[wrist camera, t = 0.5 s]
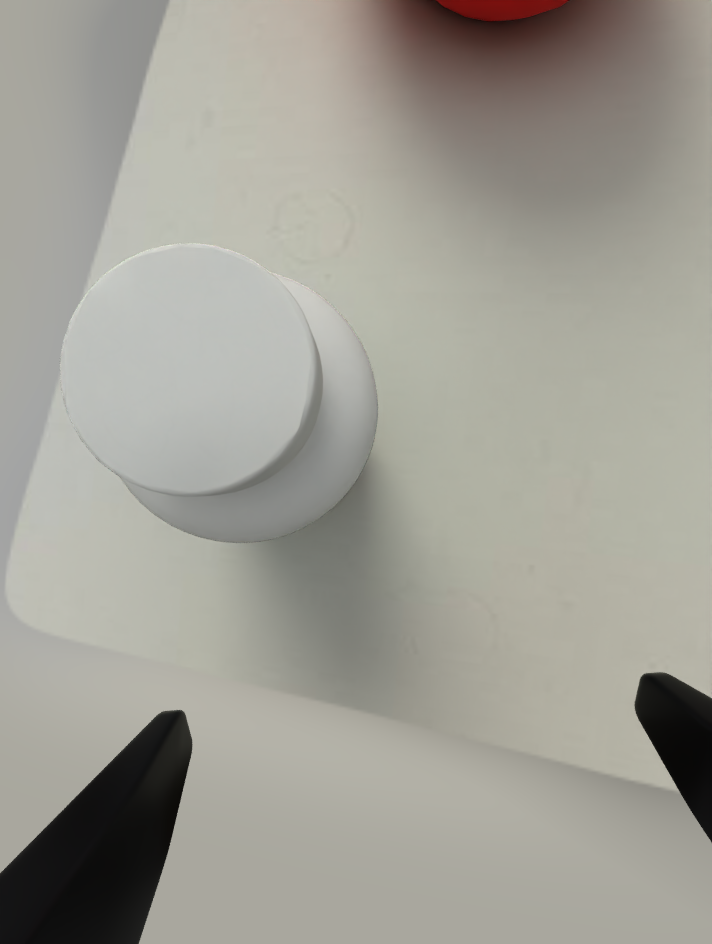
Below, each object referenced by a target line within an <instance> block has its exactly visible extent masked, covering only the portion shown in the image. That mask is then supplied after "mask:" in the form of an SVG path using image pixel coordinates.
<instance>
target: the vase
mask: <svg viewBox="0 0 712 944" xmlns="http://www.w3.org/2000/svg"><path fill="white" fill-rule="evenodd" d="M436 1H437V2H438V3H440V4H441V5H442V6H443V7H445V8H447V9H449V10H452V11H454V12H456V13H458V14H460V15H462V16H464V17H468V18H473V19H479V20H484V21H505V20H516V19H521V18H526V17H530V16H534V15H537V14H540V13H543V12H546V11H549V10H552V9H555V8H558V7H560V6H562V5H563V4H565V3H566V2H568V1H569V0H436Z"/></svg>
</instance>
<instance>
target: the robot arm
mask: <svg viewBox="0 0 712 944" xmlns="http://www.w3.org/2000/svg"><path fill="white" fill-rule="evenodd" d="M635 711H636V714H637V717H638V719H639V721H640V723H641V724H642V726H643V728H644V730H645V731H646V733H647V735H648V737H649V738H650V740H651V742H652V744H653V746H654V747H655V749H656V751H657V753H658V754H659V756H660V758H661V760H662V761H663V763H664V765H665V767H666V768H667V770H668V772H669V774H670V775H671V777H672V779H673V781H674V783H675V784H676V786H677V788H678V790H679V791H680V793H681V795H682V796H683V798H684V800H685V801H686V803H687V805H688V806H689V808H690V810H691V811H692V813H693V814H694V816H695V818H696V819H697V821H698V822H699V824H700V825H701V827H702V828H703V830H704V831H705V833H706V834H707V836H708V837H709V839H710V840H711V842H712V698H710V697H708V696H707V695H705V694H703V693H701V692H700V691H698V690H696V689H694V688H693V687H691V686H689V685H687V684H685V683H684V682H682V681H680V680H678V679H677V678H675V677H673V676H671V675H669V674H667V673H662V672H659V673H646V674H644V675H642V676H641V678H640V682H639V686H638V691H637V695H636V700H635ZM191 753H192V738H191V734H190V730H189V726H188V723H187V719H186V715H185V713H184V712H183V711H182V710H174V711H164V712H161V713H160V714H158V715H157V716H156V717H155V718H154V719H153V720H152V721H151V722H150V723H149V724H148V725H147V726H146V727H145V728H144V729H143V730H142V731H141V732H140V733H139V734H138V735H137V736H136V737H135V738H134V739H133V740H132V741H131V742H130V743H129V744H128V745H127V746H126V747H125V748H124V749H123V750H122V751H121V752H120V753H119V754H118V755H117V756H116V757H115V758H114V759H113V760H112V761H111V762H110V763H109V764H108V765H107V766H106V767H105V768H104V769H103V770H102V771H101V772H100V773H99V774H98V775H97V776H96V777H95V778H94V779H93V780H92V781H91V782H90V783H89V784H88V785H87V786H86V787H85V789H83V790H82V791H81V792H80V793H79V795H78V796H76V797H75V799H74V800H72V802H71V803H70V804H69V805H68V806H67V807H66V808H65V809H64V810H63V811H62V812H61V813H60V814H59V815H58V816H57V817H56V818H55V819H54V820H53V821H52V822H51V823H50V824H49V825H48V826H47V827H46V828H45V829H44V830H43V831H42V832H41V833H40V834H39V835H38V836H37V837H36V838H35V839H34V840H33V841H32V842H31V843H30V844H29V845H28V846H27V847H26V848H25V849H24V850H23V851H22V852H21V853H20V854H19V855H18V856H17V857H16V858H15V859H14V860H13V861H12V862H11V863H10V864H9V865H8V866H7V867H6V868H5V869H4V870H3V871H2V872H1V873H0V944H139V941H140V938H141V935H142V932H143V929H144V925H145V922H146V919H147V916H148V913H149V910H150V907H151V904H152V901H153V898H154V895H155V892H156V889H157V885H158V883H159V879H160V876H161V873H162V870H163V867H164V863H165V860H166V857H167V853H168V850H169V846H170V842H171V838H172V834H173V829H174V825H175V821H176V817H177V813H178V808H179V804H180V800H181V796H182V791H183V787H184V783H185V779H186V774H187V770H188V766H189V762H190V758H191Z"/></svg>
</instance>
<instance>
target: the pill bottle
mask: <svg viewBox="0 0 712 944" xmlns="http://www.w3.org/2000/svg"><path fill="white" fill-rule="evenodd" d="M60 375H61V389H62V394H63V399H64V404H65V407H66V410H67V413H68V415H69V418H70V420H71V423H72V424H73V426H74V428H75V430H76V432H77V434H78V435H79V437H80V439H81V440H82V442H83V443H84V444H85V445H86V447H87V448H88V449H89V450H90V452H91V453H92V454H93V455H94V456H95V457H96V458H97V460H98V461H99V462H101V463H102V464H103V465H104V466H105V467H107V468H108V469H110V470H111V471H112V472H114V473H115V474H116V475H118V476H119V477H120V478H121V480H122V481H123V483H124V484H125V485H126V486H127V488H128V489H129V490H130V492H131V493H132V494H133V495H134V496H135V497H136V498H137V499H138V501H139V502H140V503H142V504H143V505H144V506H145V507H146V508H147V509H148V510H149V511H151V512H152V513H153V514H154V515H156V516H157V517H159V518H160V519H162V520H163V521H165V522H167V523H168V524H170V525H171V526H173V527H176V528H178V529H180V530H182V531H184V532H187V533H189V534H192V535H195V536H198V537H201V538H205V539H210V540H215V541H221V542H232V543H248V542H259V541H265V540H271V539H275V538H278V537H282V536H285V535H288V534H290V533H293V532H295V531H298V530H300V529H302V528H304V527H306V526H307V525H309V524H311V523H313V522H314V521H316V520H317V519H319V518H320V517H322V516H323V515H324V514H326V513H327V512H328V511H329V510H331V509H332V508H333V507H334V506H335V505H336V504H337V503H338V502H339V501H340V500H341V499H342V498H343V497H344V496H345V495H346V494H347V492H348V491H349V490H350V488H351V487H352V486H353V485H354V483H355V482H356V480H357V479H358V477H359V475H360V474H361V472H362V470H363V468H364V466H365V464H366V462H367V459H368V457H369V454H370V451H371V449H372V446H373V442H374V437H375V432H376V427H377V418H378V400H377V390H376V384H375V379H374V375H373V371H372V368H371V364H370V361H369V358H368V356H367V354H366V351H365V349H364V347H363V345H362V343H361V341H360V340H359V338H358V336H357V335H356V333H355V332H354V330H353V329H352V327H351V326H350V325H349V323H348V322H347V320H346V319H345V318H344V317H343V316H342V315H341V314H340V313H339V312H338V311H337V310H336V309H335V308H334V307H333V306H332V305H331V304H330V303H329V302H328V301H327V300H325V299H324V298H323V297H321V296H320V295H319V294H317V293H316V292H314V291H313V290H311V289H310V288H308V287H306V286H304V285H302V284H300V283H298V282H296V281H294V280H292V279H290V278H287V277H284V276H281V275H278V274H275V273H271V272H270V271H269V270H267V269H266V268H265V267H263V266H261V265H260V264H258V263H257V262H255V261H253V260H252V259H250V258H248V257H246V256H244V255H242V254H240V253H237V252H235V251H232V250H228V249H225V248H222V247H218V246H212V245H207V244H195V243H181V244H170V245H165V246H160V247H156V248H152V249H149V250H147V251H144V252H141V253H138V254H136V255H134V256H132V257H130V258H128V259H126V260H124V261H122V262H120V263H119V264H117V265H116V266H115V267H113V268H112V269H111V270H109V271H108V272H107V273H105V274H104V275H103V276H102V277H101V278H100V279H99V280H98V281H97V282H96V283H95V284H94V285H93V286H92V287H91V288H90V290H89V291H88V292H87V293H86V295H85V296H84V298H83V299H82V300H81V302H80V303H79V305H78V306H77V308H76V310H75V312H74V314H73V316H72V317H71V320H70V323H69V326H68V329H67V332H66V335H65V338H64V341H63V346H62V352H61V358H60Z"/></svg>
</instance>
